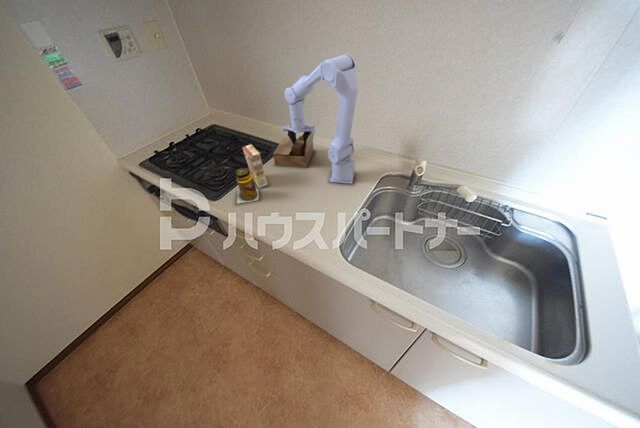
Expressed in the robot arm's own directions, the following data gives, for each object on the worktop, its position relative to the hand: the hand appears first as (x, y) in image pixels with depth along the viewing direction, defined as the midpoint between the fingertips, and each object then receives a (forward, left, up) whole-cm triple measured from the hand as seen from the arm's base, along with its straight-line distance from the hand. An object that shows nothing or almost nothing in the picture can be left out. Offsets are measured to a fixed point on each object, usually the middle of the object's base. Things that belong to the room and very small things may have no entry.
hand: (300, 146), depth 110 cm
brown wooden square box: (+3, 0, -6) cm, 7 cm away
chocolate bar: (0, 0, -2) cm, 2 cm away
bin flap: (-4, 0, +3) cm, 6 cm away
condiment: (+14, +31, -7) cm, 34 cm away
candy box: (+13, +21, -7) cm, 25 cm away
